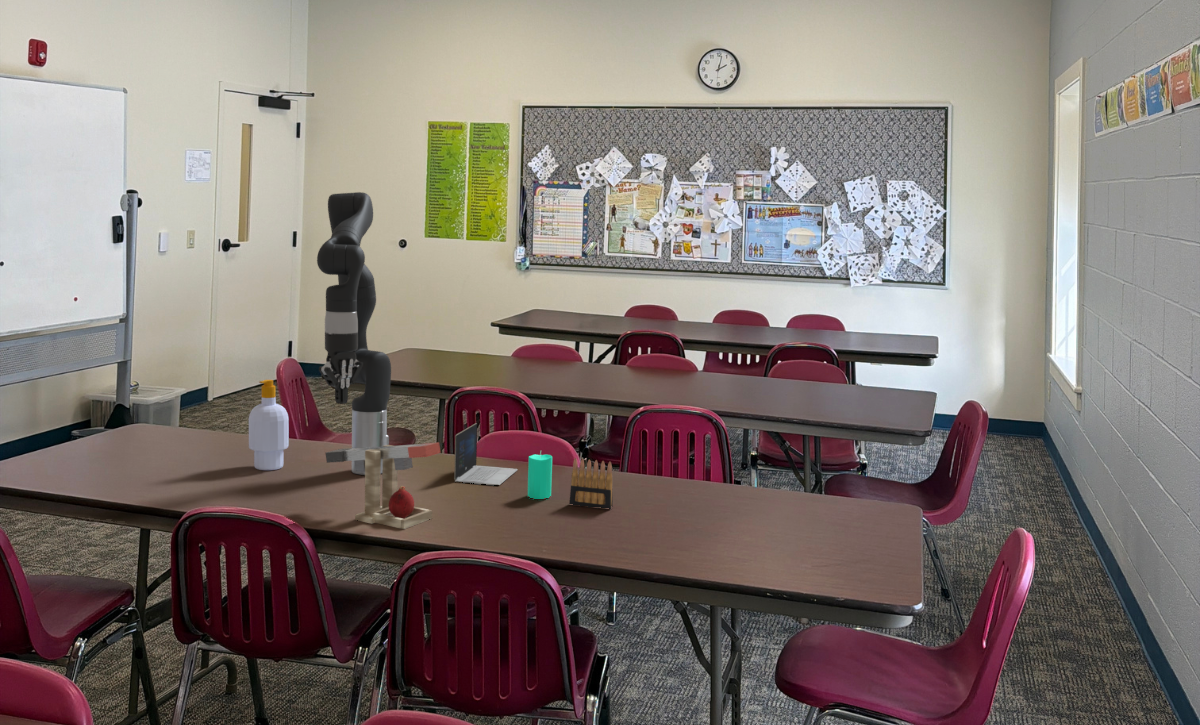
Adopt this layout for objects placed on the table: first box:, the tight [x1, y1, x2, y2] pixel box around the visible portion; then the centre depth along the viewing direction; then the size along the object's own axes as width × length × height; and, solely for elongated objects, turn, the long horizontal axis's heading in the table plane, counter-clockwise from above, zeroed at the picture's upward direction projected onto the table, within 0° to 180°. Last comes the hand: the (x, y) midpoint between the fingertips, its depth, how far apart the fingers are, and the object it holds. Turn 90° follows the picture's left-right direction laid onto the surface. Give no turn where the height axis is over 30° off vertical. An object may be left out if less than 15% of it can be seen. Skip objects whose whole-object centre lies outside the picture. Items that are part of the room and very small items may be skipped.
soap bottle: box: [248, 379, 290, 471], centre depth 273 cm, size 10×10×24 cm
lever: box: [325, 441, 441, 472], centre depth 232 cm, size 30×5×5 cm, turn 61°
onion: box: [389, 485, 415, 519], centre depth 231 cm, size 6×6×8 cm
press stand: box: [354, 444, 433, 530], centre depth 231 cm, size 14×12×16 cm
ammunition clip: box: [568, 457, 614, 510], centre depth 248 cm, size 11×2×12 cm, turn 75°
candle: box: [527, 450, 553, 500], centre depth 255 cm, size 6×6×12 cm
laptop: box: [453, 422, 518, 486], centre depth 273 cm, size 18×12×13 cm
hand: (341, 403), depth 237 cm, fingers closed
